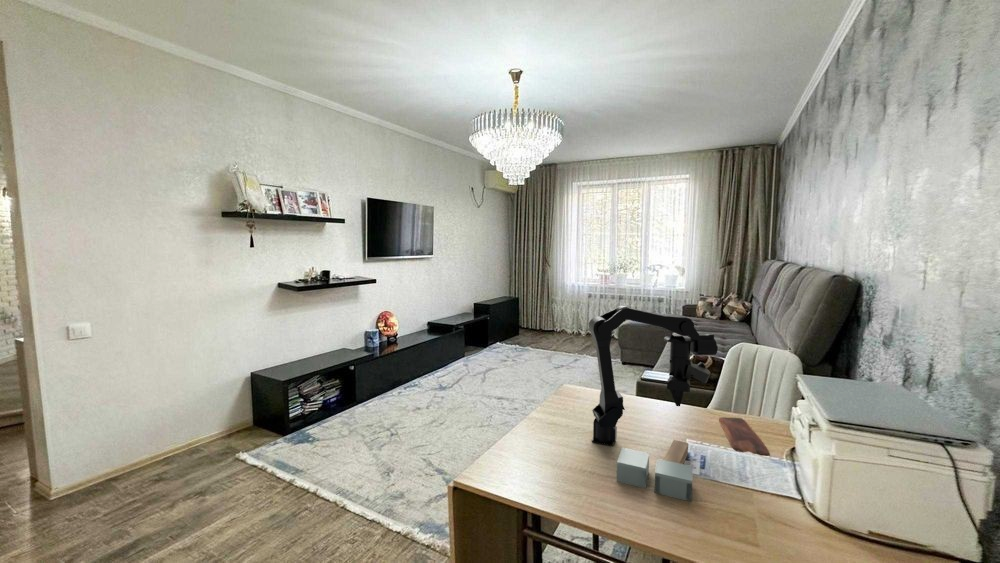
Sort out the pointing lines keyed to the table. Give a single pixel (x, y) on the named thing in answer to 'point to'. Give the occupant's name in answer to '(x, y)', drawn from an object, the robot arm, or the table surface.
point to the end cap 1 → (633, 467)
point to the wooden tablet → (742, 436)
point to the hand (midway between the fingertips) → (678, 403)
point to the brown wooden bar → (677, 452)
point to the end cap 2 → (673, 480)
